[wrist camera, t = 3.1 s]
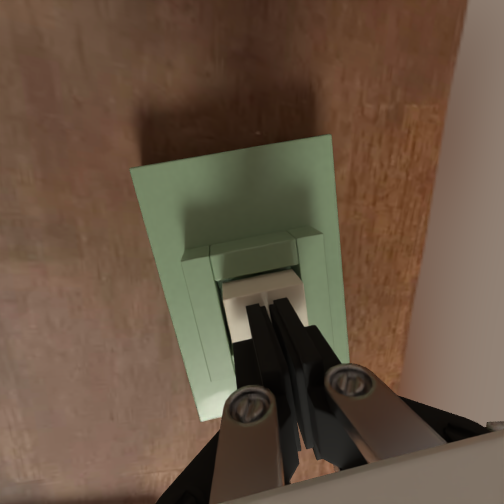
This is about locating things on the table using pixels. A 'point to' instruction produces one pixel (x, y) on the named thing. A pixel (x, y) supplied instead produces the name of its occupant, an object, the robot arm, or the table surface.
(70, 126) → the table surface
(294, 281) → the ivory key
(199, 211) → the green block
